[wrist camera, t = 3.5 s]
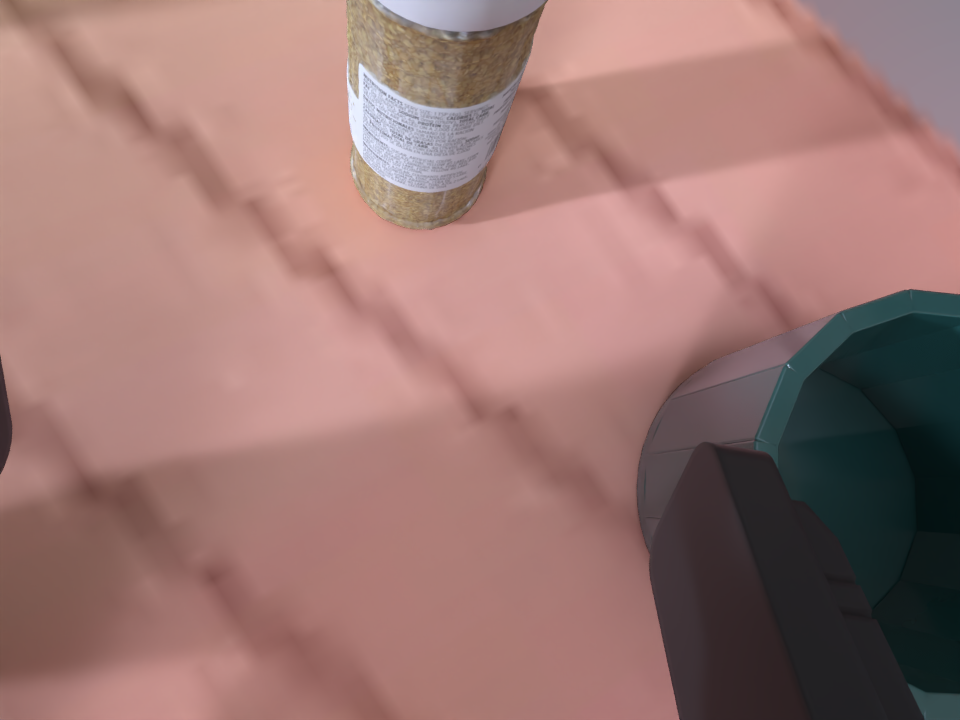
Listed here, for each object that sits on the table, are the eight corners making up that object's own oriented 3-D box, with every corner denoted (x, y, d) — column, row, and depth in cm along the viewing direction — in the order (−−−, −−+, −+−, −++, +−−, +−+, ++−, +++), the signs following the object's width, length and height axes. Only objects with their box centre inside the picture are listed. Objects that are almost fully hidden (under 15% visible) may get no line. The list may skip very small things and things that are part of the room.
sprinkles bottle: (388, 82, 26) (407, -322, 13) (508, 145, 27) (643, -191, 14) (324, 195, 26) (276, -120, 12) (449, 260, 26) (532, 16, 13)
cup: (574, 481, 25) (667, 476, 17) (778, 293, 27) (943, 212, 19) (779, 718, 25) (968, 822, 17) (969, 509, 27) (1216, 515, 19)
